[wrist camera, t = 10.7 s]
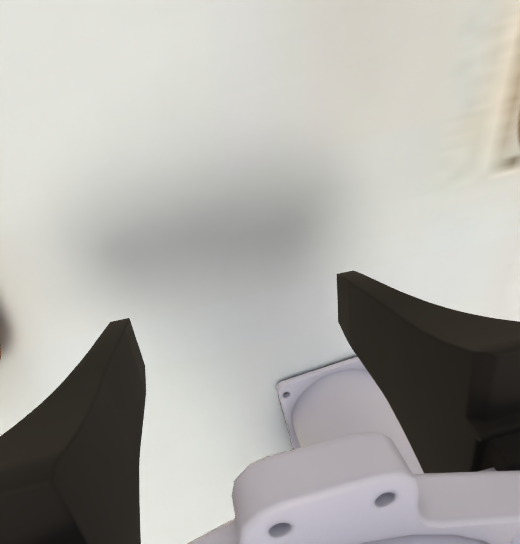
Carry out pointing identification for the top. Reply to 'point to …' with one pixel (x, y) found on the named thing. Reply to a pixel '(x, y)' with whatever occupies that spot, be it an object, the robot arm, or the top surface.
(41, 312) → the top surface
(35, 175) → the top surface
